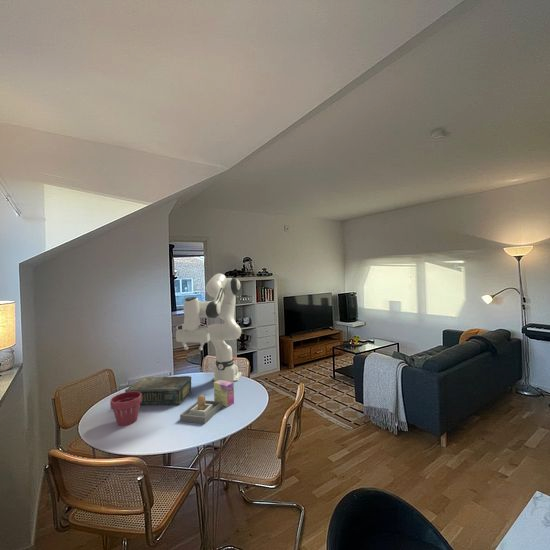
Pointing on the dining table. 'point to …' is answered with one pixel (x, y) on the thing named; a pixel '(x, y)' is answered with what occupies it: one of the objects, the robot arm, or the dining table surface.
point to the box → (224, 392)
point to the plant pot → (126, 407)
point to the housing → (201, 412)
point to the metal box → (162, 390)
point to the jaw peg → (201, 402)
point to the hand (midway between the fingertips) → (193, 349)
